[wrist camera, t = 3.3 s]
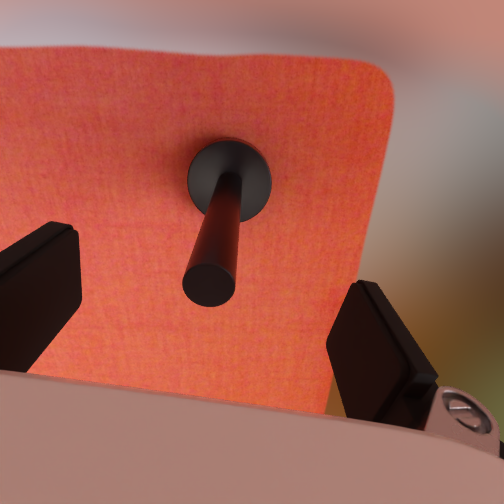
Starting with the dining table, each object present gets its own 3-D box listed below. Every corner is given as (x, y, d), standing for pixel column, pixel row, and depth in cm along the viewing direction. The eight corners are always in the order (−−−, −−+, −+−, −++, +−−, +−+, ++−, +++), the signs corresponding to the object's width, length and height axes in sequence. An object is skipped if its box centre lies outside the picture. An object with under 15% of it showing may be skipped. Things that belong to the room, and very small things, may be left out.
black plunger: (174, 182, 23) (84, 292, 10) (225, 118, 20) (190, 157, 8) (234, 231, 24) (220, 372, 12) (287, 177, 22) (334, 280, 10)
